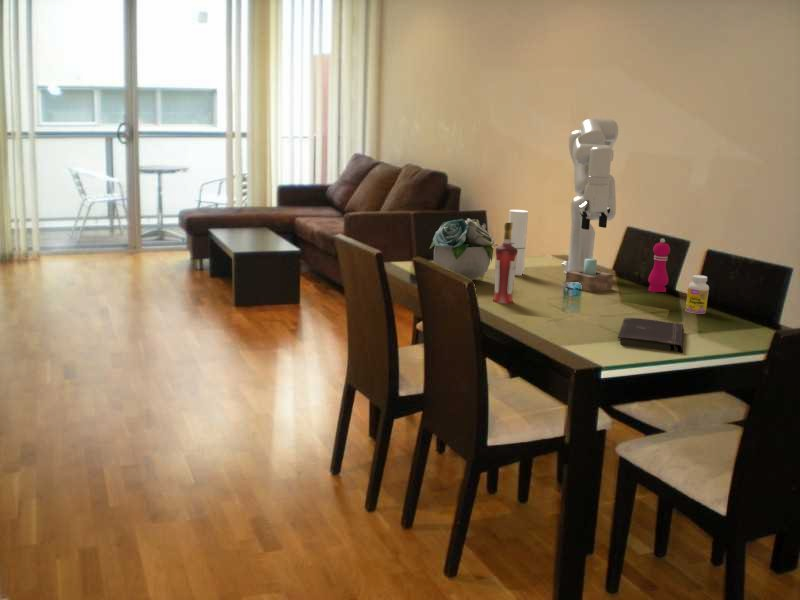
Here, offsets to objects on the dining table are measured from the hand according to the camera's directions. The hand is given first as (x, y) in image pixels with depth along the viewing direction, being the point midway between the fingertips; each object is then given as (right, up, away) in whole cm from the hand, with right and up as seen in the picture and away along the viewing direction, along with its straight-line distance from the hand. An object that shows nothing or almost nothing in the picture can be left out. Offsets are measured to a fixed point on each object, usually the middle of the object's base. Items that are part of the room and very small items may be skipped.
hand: (593, 228), depth 333 cm
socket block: (-1, -22, +5) cm, 23 cm away
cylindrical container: (-26, -16, +26) cm, 40 cm away
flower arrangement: (-48, -20, +6) cm, 53 cm away
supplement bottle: (+28, -31, -27) cm, 50 cm away
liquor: (-36, -28, -26) cm, 53 cm away
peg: (-1, -21, +5) cm, 22 cm away
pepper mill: (+25, -23, +5) cm, 34 cm away
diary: (+2, -40, -67) cm, 78 cm away
